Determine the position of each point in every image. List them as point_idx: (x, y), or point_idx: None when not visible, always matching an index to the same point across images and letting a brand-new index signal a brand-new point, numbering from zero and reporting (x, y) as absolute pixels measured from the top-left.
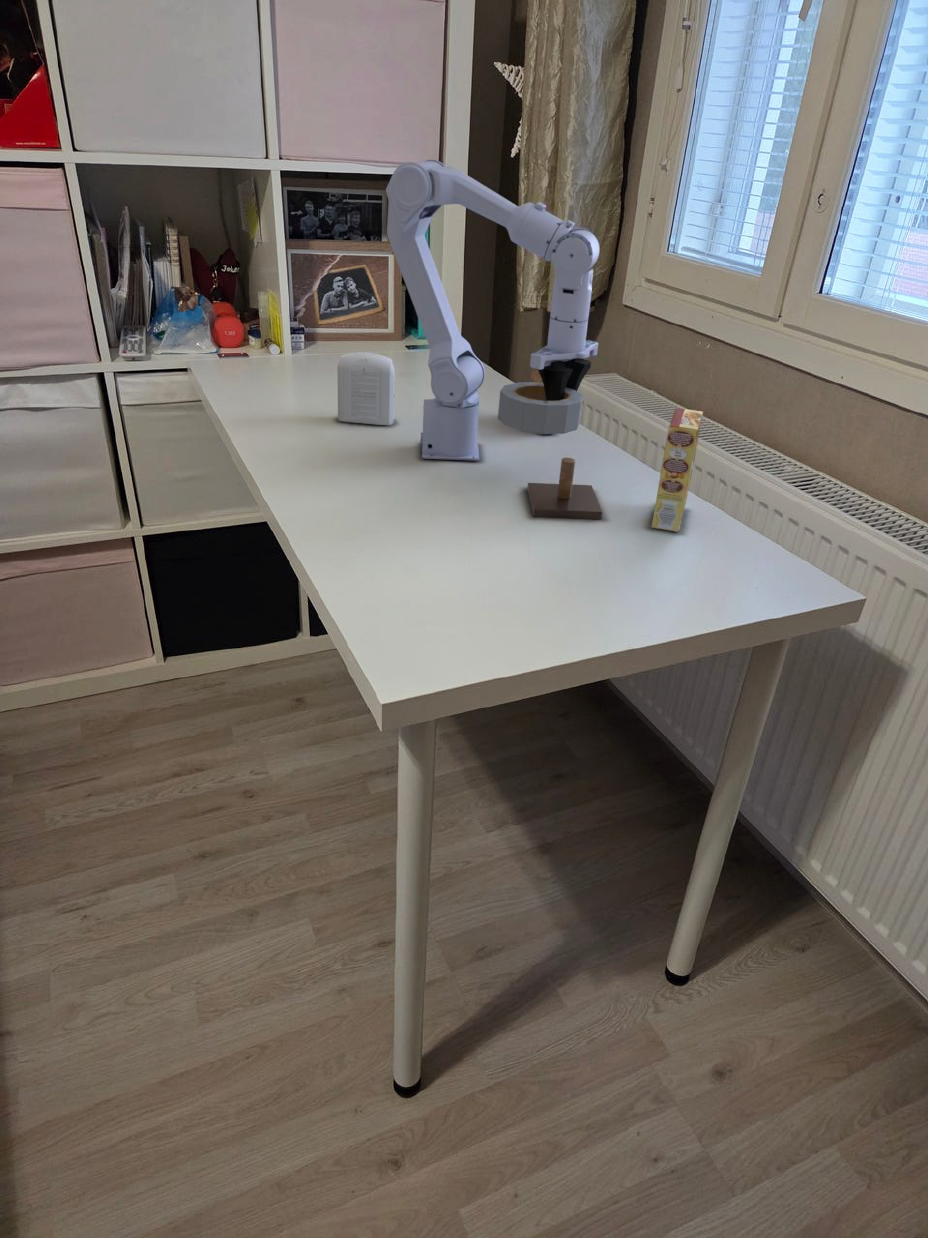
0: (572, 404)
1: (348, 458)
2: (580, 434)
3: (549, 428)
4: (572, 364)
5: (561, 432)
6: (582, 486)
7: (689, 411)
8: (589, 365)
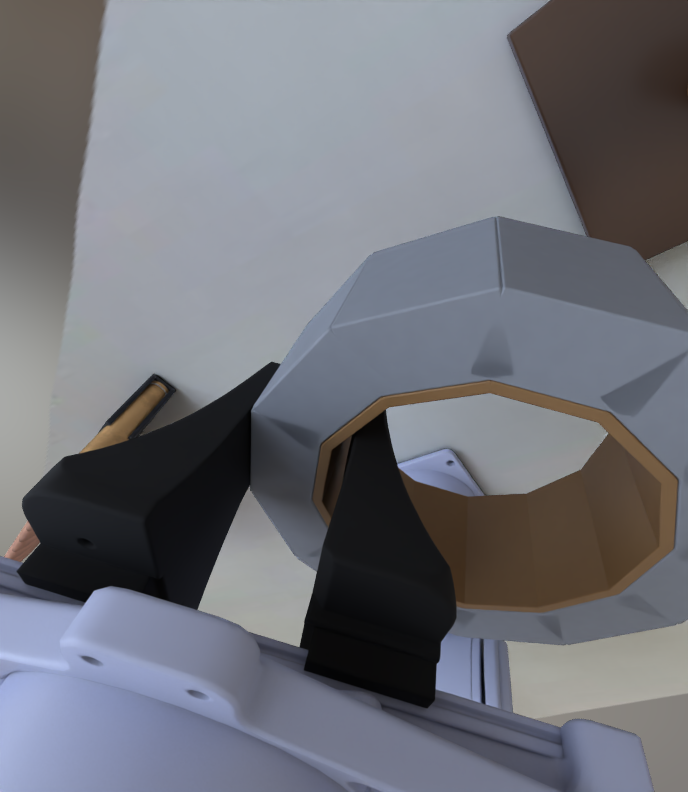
0: (626, 313)
1: None
2: (85, 319)
3: None
4: (175, 563)
5: (645, 261)
6: (548, 65)
7: None
8: (79, 478)
